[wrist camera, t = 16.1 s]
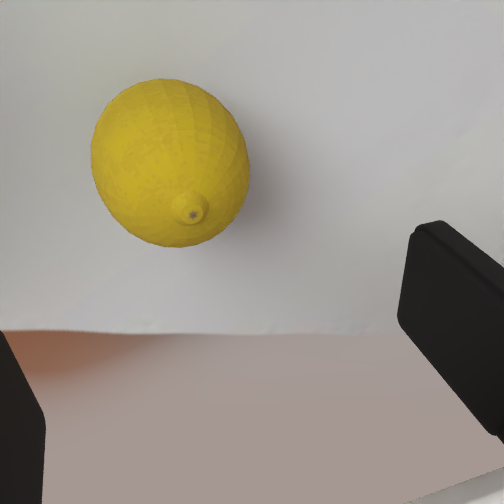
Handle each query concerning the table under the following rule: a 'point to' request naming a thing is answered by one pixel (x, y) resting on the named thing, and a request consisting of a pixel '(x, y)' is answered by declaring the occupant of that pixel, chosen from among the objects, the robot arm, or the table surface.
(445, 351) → the robot arm
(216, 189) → the lemon
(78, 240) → the table surface
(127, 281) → the table surface
